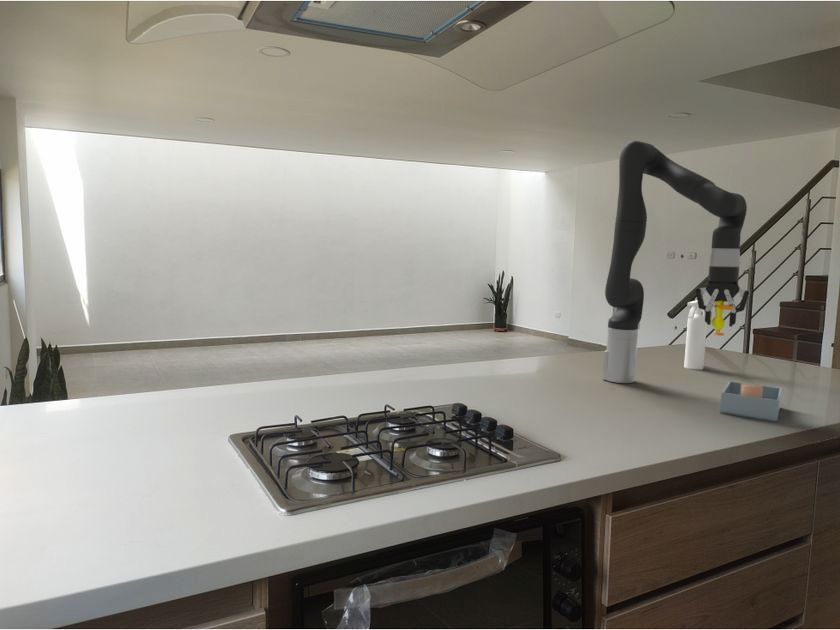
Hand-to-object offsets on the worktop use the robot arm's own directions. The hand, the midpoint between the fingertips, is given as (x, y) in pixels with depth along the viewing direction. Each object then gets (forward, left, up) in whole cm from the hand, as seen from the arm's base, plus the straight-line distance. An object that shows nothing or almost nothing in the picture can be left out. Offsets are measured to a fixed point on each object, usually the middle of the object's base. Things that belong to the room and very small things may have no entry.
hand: (719, 325), depth 165 cm
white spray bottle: (-12, +48, -22) cm, 55 cm away
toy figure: (0, 0, -3) cm, 3 cm away
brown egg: (+10, -9, -21) cm, 25 cm away
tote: (+10, -5, -22) cm, 24 cm away
